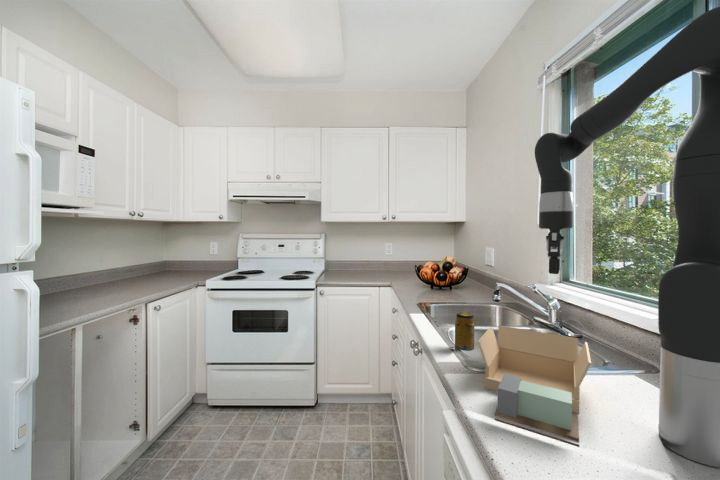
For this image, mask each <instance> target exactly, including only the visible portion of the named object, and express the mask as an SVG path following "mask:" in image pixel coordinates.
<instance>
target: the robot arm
mask: <svg viewBox="0 0 720 480" xmlns="http://www.w3.org/2000/svg"><path fill="white" fill-rule="evenodd" d="M691 72H694V73H697V74H698V76H699V99H698V100H699V101H698V107H697V111H696V112H695V113H696V114H695V115H694V118H693V119H692V122H691V123H690V124H689V127H688V129H687V130H686V132H685V134H684V135H683V137H682V138H681V141H680V142H679V145H678V146H677V149H676V153H675V157H674V164H673V177H672V192H673V193H672V194H673V203H674V204H673V205H674V211H675V216H676V217H675V218H676V221H677V229H678V238H677V239H678V240H677V244H676V245H677V247H676V252H675V258H674V260H673V264H672V265H673V266H672V267H671V268H669V269H668V270H667V271H666V272H664V274H662V276H661V278H660V281H659V285H658V294H657V295H658V296H657V297H658V302H657V303H658V306H657V310H658V311H657V314H658V315H657V316H658V319H657V320H658V327H657V328H658V332H659V335H660V360H659V362H660V363H659V365H660V367H659V368H660V369H659V400H658V404H659V405H658V406H659V407H658V434H657V435H658V437H659V439H660V441H661V443H662V444H663V445H664V447H665V446H666V447H667V448H668V449H669V450H671V451H672V452H675V453H676V454H678V455H680V456H681V457H684V458H686V459H689V460H691V461H693V462H696V463H699V464H701V465H706V466H709V467H714V468H720V6H717V7H714V8H711V9H710V10H707V11H705V12H704V13H702V14H700V15H699V16H697V17H696V18H694V19H693V20H692V21H691V22H689V23H688V24H687V25H686V26H684V27H683V28H682V29H681V30H680V31H679V32H677V34H675V35H674V36H673V37H672V38H671V39H670V40H668V42H667V43H666V44H665V45H663V46H662V47H660V49H659V50H658V51H656V53H655V54H654V55H652V56H651V57H650V58H649V59H648V60H647V61H646V62H645V63H644V64H642V66H640V67H639V68H638V69H636V71H635V72H634V73H632V74H631V75H630V76H629V77H628V78H627V79H626V80H624V82H623V83H622V84H620V85H619V86H618V87H617V88H615V89H614V90H613V91H612V92H610V93H609V94H607V95H606V96H605V97H603V98H602V99H601V100H599V101H598V102H597V103H595V104H594V105H592V106H591V107H590V108H588V109H587V110H586V111H584V112H583V113H581V114H580V115H578V116H577V117H576V118H575V119H573V120H572V122H571V124H570V126H569V127H570V128H569V129H570V132H568V133H566V134H565V133H559V132H547V133H544V134H543V135H541V136H540V137H539V139H538V140H537V141H536V143H535V147H534V158H535V163H536V167H537V169H538V173H539V177H540V197H539V204H538V206H539V209H538V228H539V229H540V230H546V229H547V230H549V232H548V234H547V235H546V236H545V242H546V252H547V258H548V273H549V274H553V275H559V273H560V270H561V257H562V252H563V251H564V243H565V236H564V235H562V233H561V230H570V229H572V228H573V226H574V225H573V223H574V218H573V217H574V198H573V174H572V171H570V170H568V169H566V168H565V167H564V166H563V163H567V162H570V161H572V160H574V159H576V158H578V157H579V156H580V155H582V153H584V152H585V151H586V150H587V149H588V148H589V147H591V145H593V143H594V142H595V141H596V140H598V139H600V138H602V137H604V136H605V135H607V134H609V133H611V132H612V131H614V130H615V129H617V128H619V127H620V126H621V125H623V124H624V123H625V122H627V121H628V120H630V118H632V116H633V115H634V114H635V113H636V112H637V111H638V110H639V109H640V107H641V106H642V105H643V104H644V103H645V102H646V101H647V100H648V99H649V98H650V97H652V96H653V94H655V93H656V92H658V91H659V90H660V89H661V88H663V87H665V86H666V85H667V84H669V83H671V82H674V81H675V80H677V79H679V78H680V77H682V76H685V75H686V74H689V73H691Z"/></svg>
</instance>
